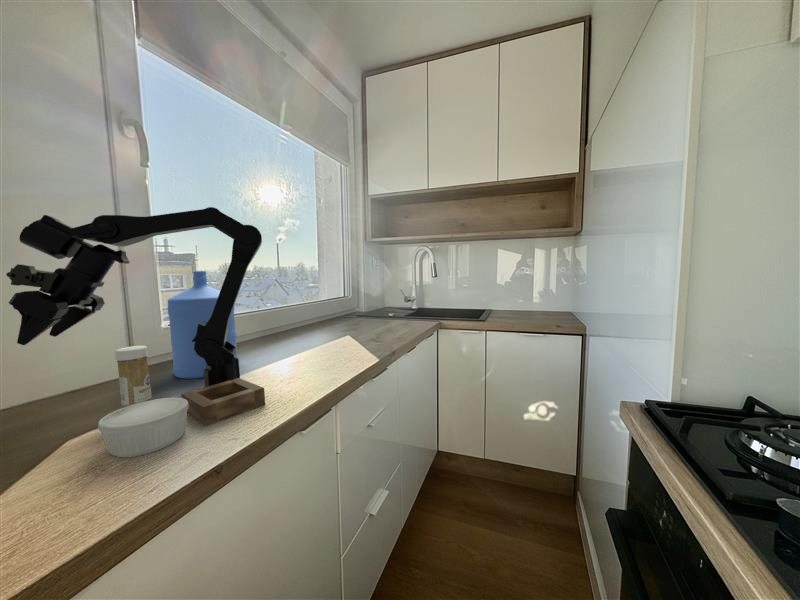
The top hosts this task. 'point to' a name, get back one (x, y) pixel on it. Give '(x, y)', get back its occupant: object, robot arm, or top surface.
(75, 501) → the top surface
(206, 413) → the socket block
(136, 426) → the ramekin
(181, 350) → the water jug
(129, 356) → the sprinkles bottle
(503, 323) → the top surface
